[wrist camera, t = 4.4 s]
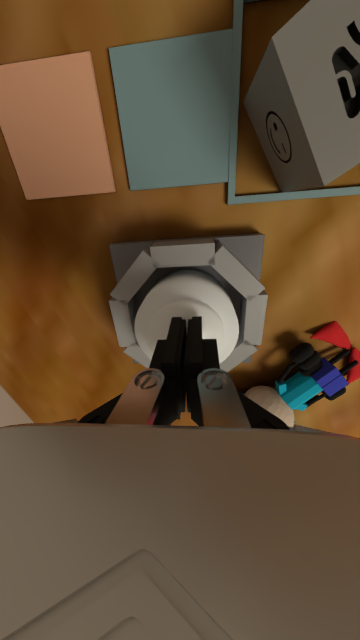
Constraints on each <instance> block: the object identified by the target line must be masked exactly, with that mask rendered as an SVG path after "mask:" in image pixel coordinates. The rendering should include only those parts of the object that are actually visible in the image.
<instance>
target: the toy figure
mask: <svg viewBox="0 0 360 640" xmlns="http://www.w3.org/2000/svg"><path fill="white" fill-rule="evenodd" d="M310 338H311V339H320V340H323V341H326V342H328V343H331V344H333V345H335V346H338V347H340V348H342V349H345V350H343V351H342V352H340V353H339V354H338V355H336V356H335V357H333V358H332V359H331V360H329V361H327V360H326V359H325V358H322V359H321V357H320V354H319V353H318V352H317V351H314V349H313V347H312V345H311V344H309V343H301V344H299V345H298V346H297V347H295V348H294V349H293V350H291V352H290V358H291V359H292V360H293V361H294V363H292V364H289V365H288V366H287V368H286V369H285V370H284V372H283V373H282V375H281V376H280V377H279V379H278V380H277V381H275V384H276V388H275V389H274V388H272V387H269V386H255V387H252V388H250V389H249V390H248V391H247V392H246V393H245V394H244V393H242V394H243V395H245V396H246V397H248V398H249V399H251V400H252V401H254V402H255V403H257V404H258V405H260V406H261V407H263V408H264V409H266V410H267V411H269V412H270V413H272V414H273V415H275V416H276V417H278V418H279V419H281V420H282V421H283V422H284V423H286V425H287V426H289V427H293V424H294V422H295V421H294V413H293V410H294V409H298V410H302V411H304V410H305V408H307V407H308V406H310V405H312V404H313V403H315V402H316V401H318V400H320V399H321V398H323V397H326V398H327V399H328V400H334V399H336V398H337V397H339V396H341V395H342V394H344V393H345V392H346V388H345V386H347V385H348V384H349V383H351V382H353V381H355V380H357V379H358V378H360V351H359V350H357V349H356V348H353V349H352V351H351V353H350V358H349V364H348V365H346V366H345V367H343V368H342V369H341V370H339V371H338V369H337V368H336V367H335V366H333V364H334V363H336V362H337V361H339V360H340V359H341V358H343V357H344V356H346V355H347V354H349V352H350V350H349V349H351V344H350V341H349V339H348V336H347V335H346V333H345V332H344V331H343V329H342V328H341V326H340V325H339V324H338V323H337V322H336V321H334V322H332V323H329V324H328V325H326V326H324V327H323V328H321V329H320V330H319V331H317V332H316V333H315V334H314V335H312V336H311V337H310ZM297 364H298V366H299V372H297V373H296V374H295V375H293V376H292V377H291V378H289V379H288V380H286V381H285V382H284V381H283V379H284V378H285V377H286V375H287V374H288V373H289V371H290V370H291V369H292V368H293V367H294V366H296V365H297ZM347 371H348V372H347ZM346 372H347V380H345V378H344V377H343V376H342V375H343V374H344V373H346ZM319 392H322V393H323V394H321V395H320V396H319V395H316V394H318V393H319ZM315 395H316V396H315ZM313 396H314V397H313ZM312 397H313V398H312ZM309 399H310V400H309ZM306 401H307V402H306Z"/></svg>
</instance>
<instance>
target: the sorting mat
mask: <svg viewBox="0 0 360 640" xmlns="http://www.w3.org/2000/svg"><path fill="white" fill-rule="evenodd" d="M254 1H260V0H233V29H227V30H220V31H214V32H208V33H201V34H195V35H189V36H182V37H176V38H170V39H163V40H157V41H151V42H144V43H138V44H132V45H125V46H119V47H113V48H109V54H110V60H111V67H112V73H113V80H114V87H115V93H116V100H117V106H118V113H119V119H120V126H121V132H122V139H123V145H124V152H125V158H126V165H127V171H128V178H129V185H130V191H134V190H145V189H156V188H167V187H179V186H190V185H201V184H212V183H223V182H228V200H227V205H230V204H242V203H255V202H268V201H280V200H293V199H306V198H318V197H331V196H344V195H356V194H360V186H358V187H346V188H334V189H322V190H310V191H297V192H285V193H273V194H261V195H249V196H237V197H235V180H236V157H237V134H238V111H239V88H240V65H241V41H242V18H243V3H248V2H254ZM0 127H1V129H2V132H3V135H4V138H5V141H6V143H7V146H8V149H9V152H10V155H11V158H12V160H13V163H14V166H15V169H16V172H17V175H18V177H19V180H20V183H21V186H22V189H23V191H24V194H25V197H26V200H33V199H44V198H55V197H66V196H77V195H89V194H100V193H111V192H116V189H115V184H114V178H113V173H112V167H111V162H110V156H109V151H108V145H107V140H106V134H105V128H104V123H103V117H102V112H101V106H100V101H99V95H98V90H97V84H96V79H95V73H94V68H93V62H92V57H91V53H90V52H89V51H87V52H81V53H75V54H68V55H62V56H56V57H49V58H43V59H37V60H30V61H24V62H18V63H11V64H5V65H0Z"/></svg>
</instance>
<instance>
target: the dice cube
mask: <svg viewBox="0 0 360 640" xmlns="http://www.w3.org/2000/svg"><path fill="white" fill-rule="evenodd" d="M243 104H244V107H245V109H246V111H247V114H248V116H249V118H250V121H251V123H252V125H253V128H254V130H255V132H256V135H257V137H258V139H259V141H260V144H261V146H262V148H263V151H264V153H265V155H266V158H267V160H268V162H269V165H270V167H271V169H272V172H273V174H274V176H275V179H276V181H277V183H278V186H279V188H280V190H281V193H284V192H291V191H297V190H303V189H310V188H316V187H323V186H325V185H327V184H328V183H330V182H331V181H333V180H334V179H336V178H338V177H339V176H341V175H342V174H344V173H345V172H347V171H348V170H350V169H351V168H353V167H354V166H356V165H357V164H359V163H360V0H310V1H309V2H308V3H307V4H306V5H305V6H304V7H303V8H302V9H301V10H300V11H299V12H297V13H296V14H295V15H294V16H293V17H292V18H291V19H290V20H289V21H288V22H287V23H286V24H285V25H284V26H283V27H282V28H281V29H280V30H279V31H278V32H277V33H275V34H274V35H273V36H272V38H271V40H270V42H269V44H268V47H267V49H266V51H265V53H264V56H263V58H262V60H261V63H260V65H259V67H258V69H257V72H256V74H255V76H254V79H253V81H252V83H251V85H250V88H249V90H248V92H247V94H246V97H245V99H244V101H243Z"/></svg>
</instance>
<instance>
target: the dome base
mask: <svg viewBox="0 0 360 640" xmlns="http://www.w3.org/2000/svg"><path fill="white" fill-rule="evenodd" d="M264 236H265V235H264V234H262V233H252V234H237V235H222V236H206V237H191V238H176V239H160V240H145V241H130V242H114V243H112V244H109V248H110V253H111V258H112V262H113V267H114V271H115V276H116V281H117V286H116V287H115V288H114V290H113V291H112V292H111V293H110V295H111V296H112V298H111V299H110V300H109V305H110V309H111V313H112V317H113V321H114V325H115V330H116V334H117V338H118V342H119V346H120V347H125V349H124V351H123V352H124V353H126V354H127V355H129V356H130V357H132V358H133V359H134V363H140V364H142V365H143V366H145V367H146V368H149V366H150V363H151V360H150V359H149V358H148V357H147V356H146V355H145V353H144V352H143V351H142V349H141V348H140V346H139V344H138V342H137V339H136V336H135V329H134V328H135V318H136V315H137V312H138V310H139V308H140V306H141V304H142V302H143V301H144V299H145V297H146V295H147V294H148V292H149V290H150V289H151V287H152V286H153V285H154V284H155V283H156V282H157V281H158V280H159V279H160V278H162V277H163V276H165V275H167V274H169V273H172V272H175V271H179V270H196V271H201V272H204V273H206V274H209V275H211V276H212V277H214V278H215V279H217V280H218V281H219V282H220V283H221V284H222V285H223V286H224V287H225V289H226V290H227V292H228V294H229V296H230V299H231V302H232V304H233V307H234V310H235V313H236V316H237V319H238V324H239V335H238V340H237V343H236V345H235V348H234V349H233V351H232V352H231V354H230V355H229V356H228V357H227V358H226V359H225V360H224V361H223V362H222V363H220V369H222V370H224V371H226V372H228V371H230V370H231V369H233V368H234V367H235V366H237V365H238V364H239V363H251V356H252V354H253V353H254V352H256V351H257V350H258V349H257V347H256V345H261V342H262V335H263V327H264V319H265V312H266V304H267V296H268V295H267V293H266V292H265V291H264V289H265V287H264V286H263V285H262V283H261V282H260V273H261V264H262V254H263V245H264Z"/></svg>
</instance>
